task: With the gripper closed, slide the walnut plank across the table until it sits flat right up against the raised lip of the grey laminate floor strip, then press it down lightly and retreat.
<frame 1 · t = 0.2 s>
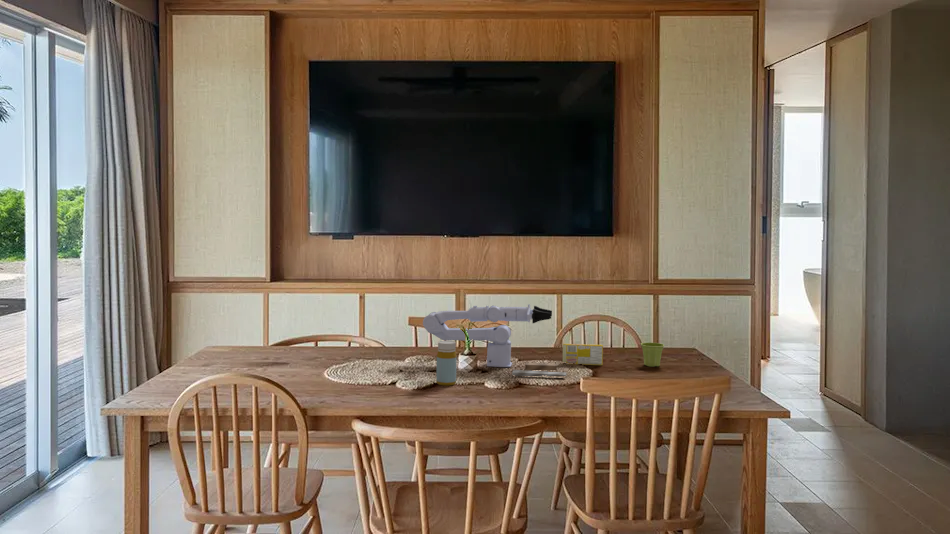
hand: (551, 314, 313), 21 cm above the table, tool horizontal, fingers open, 7 cm apart
plant pot: (651, 365, 324), on the table
bottle: (446, 384, 283), on the table
candy box: (582, 364, 323), on the table
floor strip: (539, 376, 298), on the table
plank: (540, 371, 309), on the table
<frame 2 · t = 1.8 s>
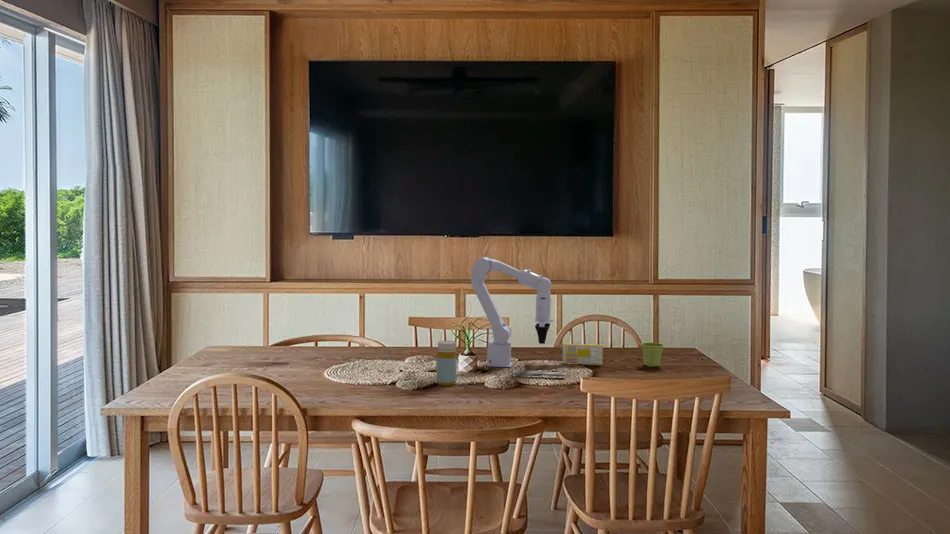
hand: (542, 342, 315), 10 cm above the table, tool pointing down, fingers open, 5 cm apart
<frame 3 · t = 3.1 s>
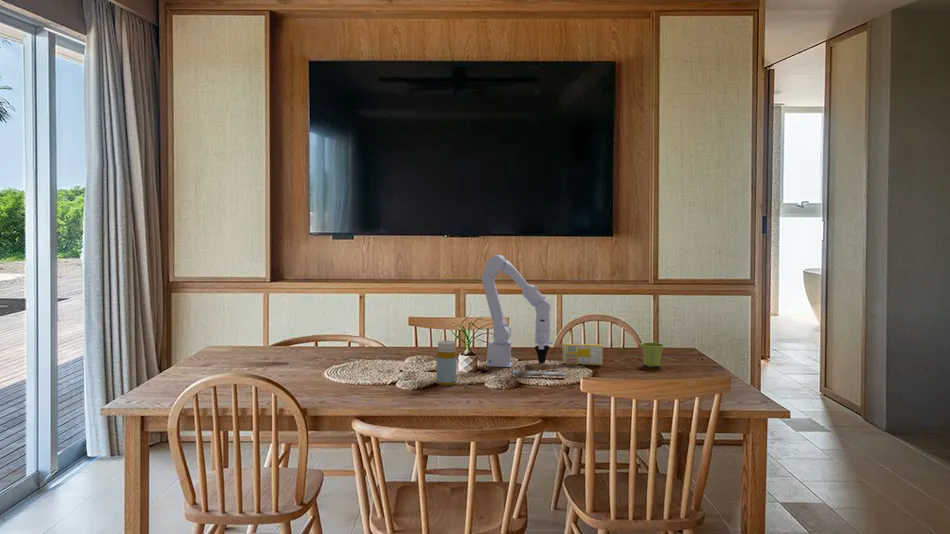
hand: (541, 364, 315), 1 cm above the table, tool pointing down, fingers closed
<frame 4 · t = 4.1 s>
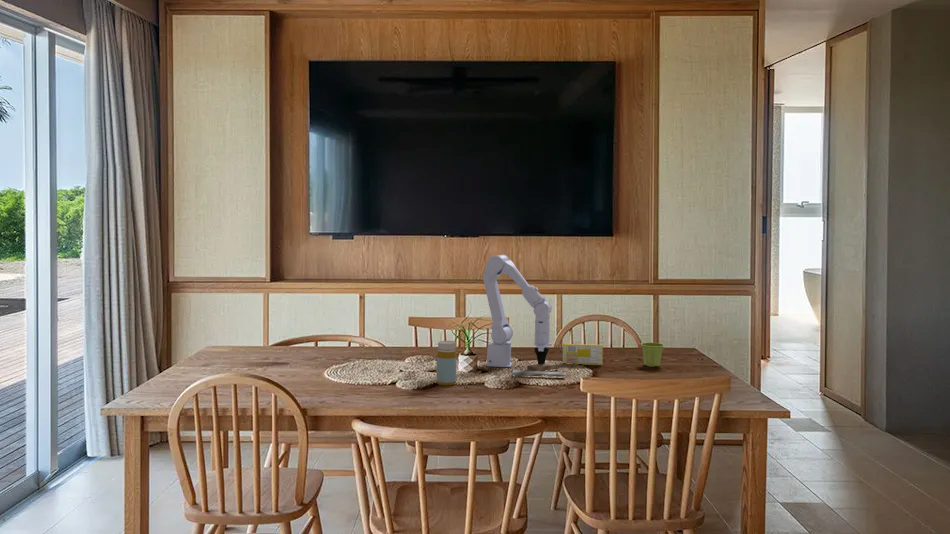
hand: (541, 366, 312), 1 cm above the table, tool pointing down, fingers closed
plank: (542, 372, 308), on the table, touching gripper
everything else where it was.
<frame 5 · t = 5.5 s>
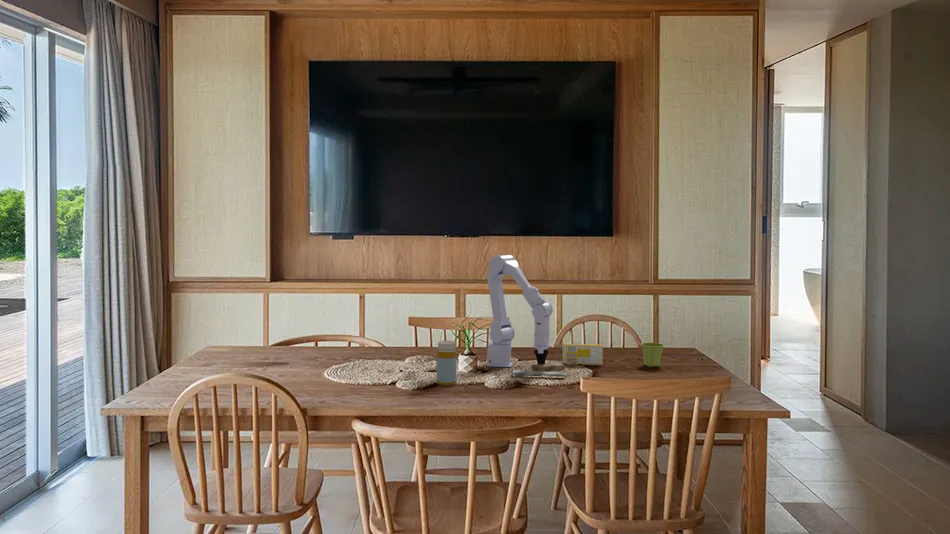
hand: (541, 368, 308), 1 cm above the table, tool pointing down, fingers closed, pressing on plank
plank: (547, 372, 306), on the table, touching floor strip, gripper
everything else where it was.
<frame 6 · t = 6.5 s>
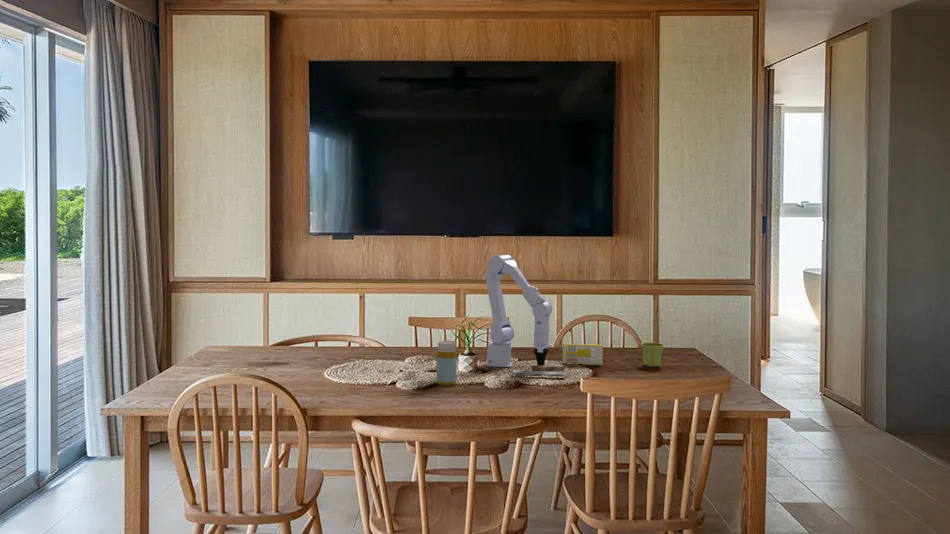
hand: (540, 367, 309), 1 cm above the table, tool pointing down, fingers closed
plank: (548, 373, 306), on the table
everything else where it was.
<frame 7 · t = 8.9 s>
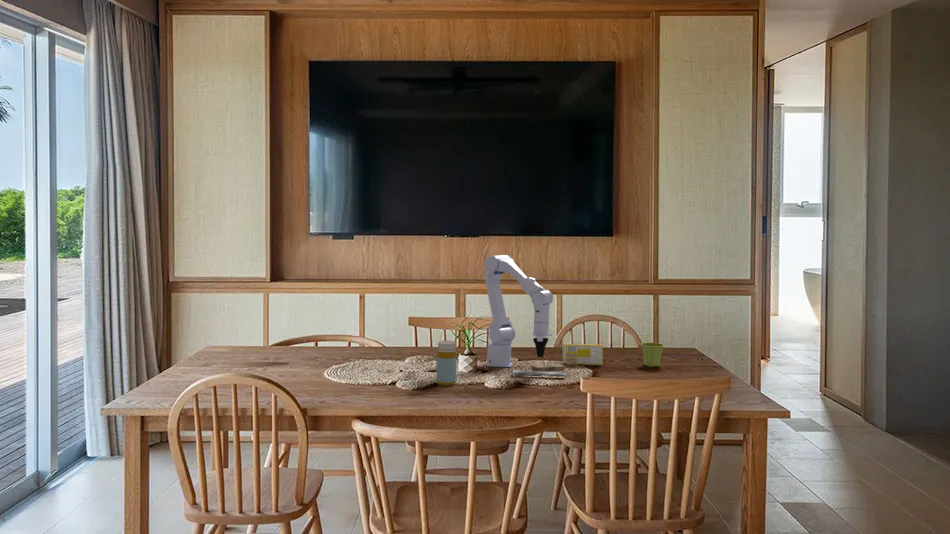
hand: (540, 356, 304), 6 cm above the table, tool pointing down, fingers closed
nothing on the table moved.
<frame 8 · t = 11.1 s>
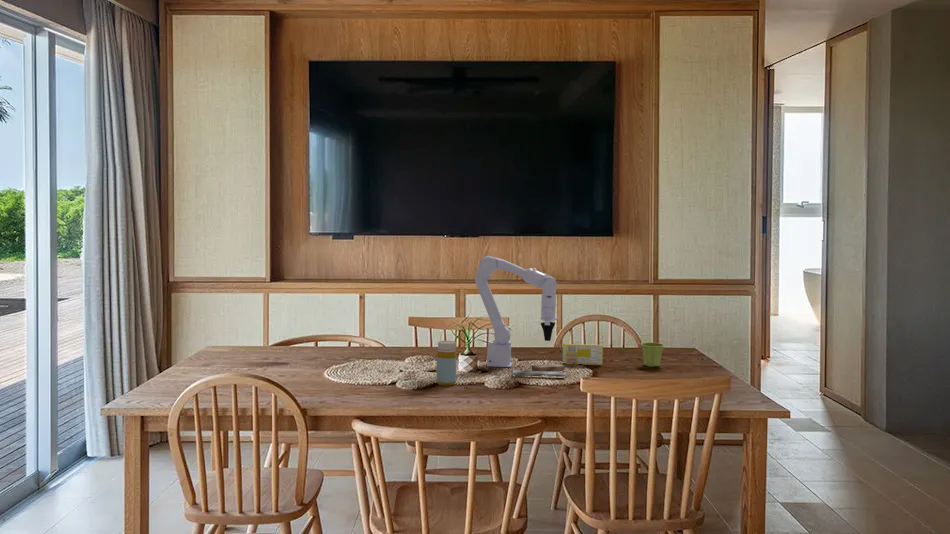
hand: (547, 340, 316), 10 cm above the table, tool pointing down, fingers closed
nothing on the table moved.
at the end: plank inside the target area (3.4 cm from its centre), on the table; plank tilted 0°; plank moved 4.1 cm from its start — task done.
